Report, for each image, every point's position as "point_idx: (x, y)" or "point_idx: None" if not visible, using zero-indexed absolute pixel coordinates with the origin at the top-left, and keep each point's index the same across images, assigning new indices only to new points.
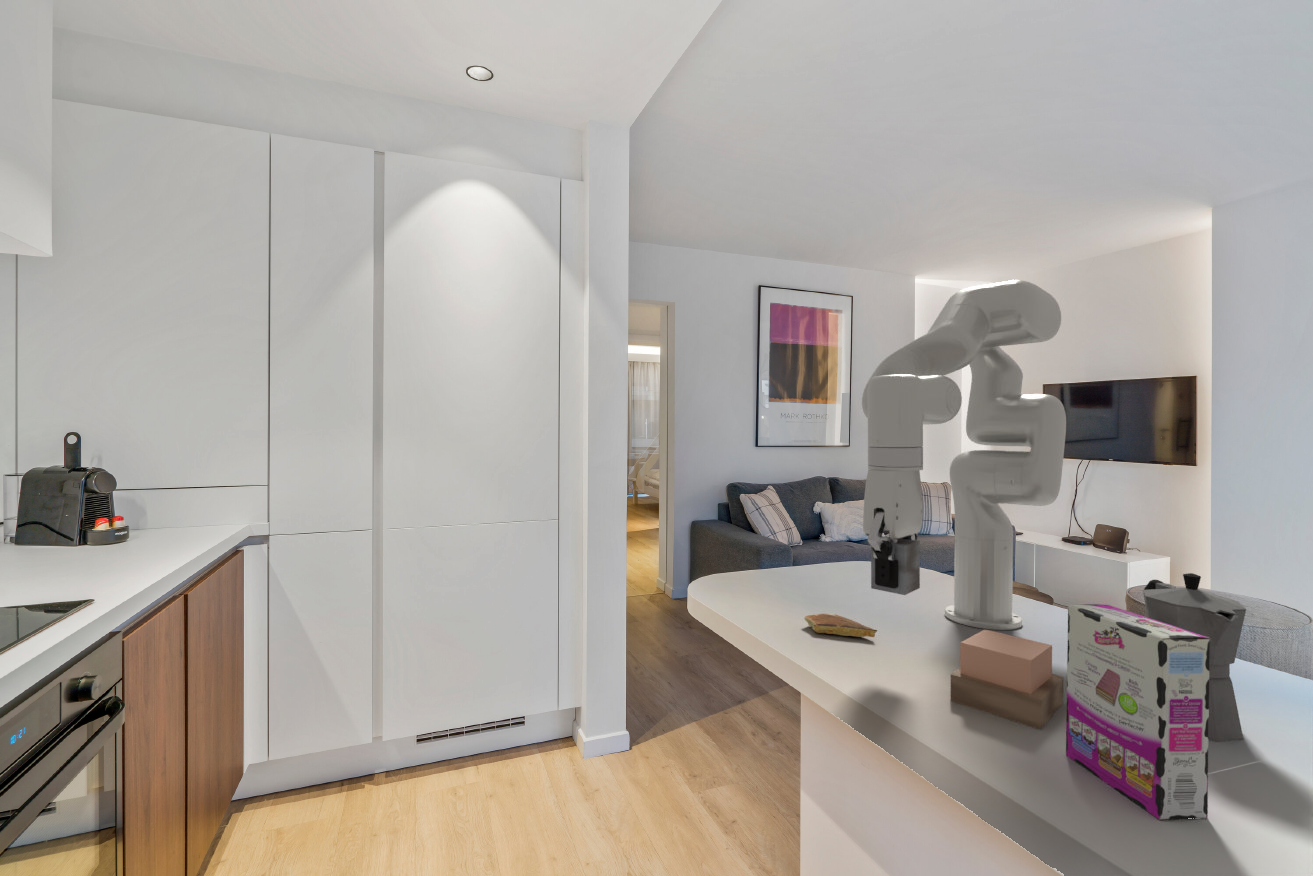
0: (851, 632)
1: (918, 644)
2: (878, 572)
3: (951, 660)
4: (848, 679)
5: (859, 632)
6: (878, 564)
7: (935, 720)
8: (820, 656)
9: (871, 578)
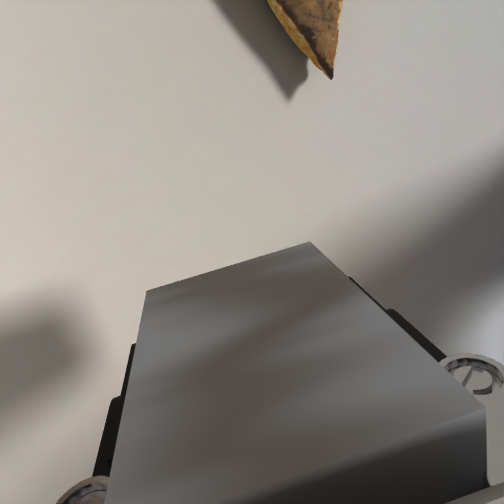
0: (278, 13)
1: (394, 152)
2: (107, 426)
3: (360, 258)
4: (41, 242)
5: (294, 36)
6: (94, 472)
7: (79, 433)
8: (73, 82)
9: (143, 316)
